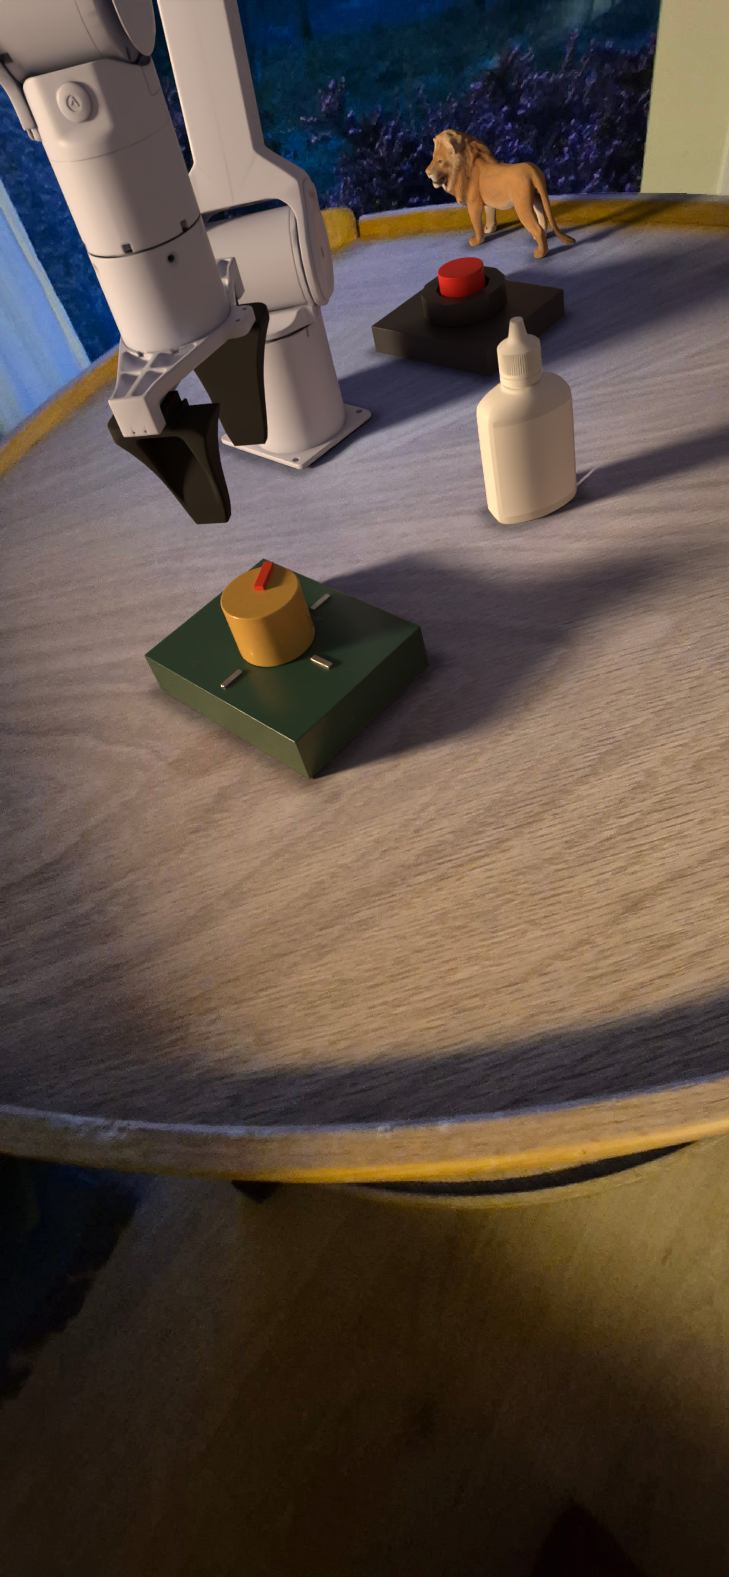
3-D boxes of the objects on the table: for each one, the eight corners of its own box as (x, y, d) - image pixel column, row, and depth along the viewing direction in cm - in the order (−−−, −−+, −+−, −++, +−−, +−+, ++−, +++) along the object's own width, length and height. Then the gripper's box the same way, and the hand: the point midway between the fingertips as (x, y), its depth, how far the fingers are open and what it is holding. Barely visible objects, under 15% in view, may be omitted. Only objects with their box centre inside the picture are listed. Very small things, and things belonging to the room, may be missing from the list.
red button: (431, 297, 75) (428, 275, 74) (459, 277, 77) (456, 254, 75) (466, 304, 73) (463, 280, 72) (495, 282, 75) (492, 259, 73)
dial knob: (304, 667, 51) (285, 613, 48) (230, 667, 52) (207, 615, 50) (323, 613, 54) (306, 559, 51) (252, 614, 55) (232, 562, 52)
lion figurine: (428, 249, 90) (412, 141, 84) (461, 224, 92) (448, 118, 86) (560, 263, 82) (554, 146, 76) (592, 236, 84) (589, 119, 78)
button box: (376, 352, 79) (366, 304, 76) (450, 297, 83) (444, 248, 80) (489, 378, 73) (483, 326, 70) (565, 316, 76) (562, 265, 73)
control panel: (162, 691, 57) (142, 653, 55) (276, 595, 61) (262, 555, 58) (310, 780, 50) (294, 740, 48) (429, 665, 54) (420, 623, 51)
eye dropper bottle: (575, 522, 59) (566, 332, 50) (485, 528, 61) (461, 345, 52) (578, 481, 62) (569, 294, 53) (492, 488, 63) (470, 307, 54)
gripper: (168, 292, 39) (263, 555, 49) (262, 157, 48) (326, 405, 58) (24, 311, 41) (143, 560, 52) (139, 178, 50) (222, 415, 60)
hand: (233, 479), depth 55 cm, fingers open, 7 cm apart
